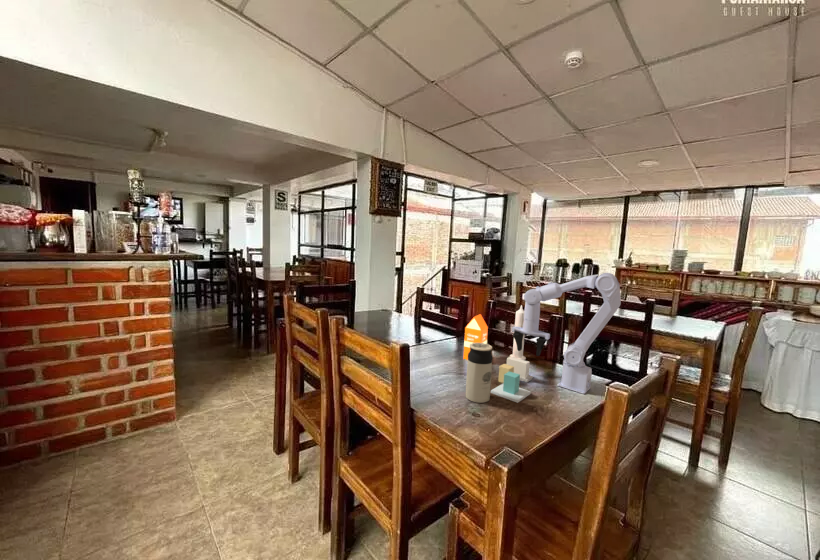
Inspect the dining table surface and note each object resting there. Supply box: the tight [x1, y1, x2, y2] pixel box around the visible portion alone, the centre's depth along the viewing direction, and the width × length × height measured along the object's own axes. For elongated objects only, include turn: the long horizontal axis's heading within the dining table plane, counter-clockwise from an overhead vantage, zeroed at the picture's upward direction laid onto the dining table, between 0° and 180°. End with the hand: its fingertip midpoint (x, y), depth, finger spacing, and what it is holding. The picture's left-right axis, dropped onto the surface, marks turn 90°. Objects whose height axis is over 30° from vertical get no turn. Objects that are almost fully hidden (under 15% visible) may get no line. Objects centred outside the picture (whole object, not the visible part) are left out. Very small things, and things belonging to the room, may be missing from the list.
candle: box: [509, 304, 527, 361], centre depth 150 cm, size 7×7×25 cm
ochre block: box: [497, 363, 514, 384], centre depth 124 cm, size 4×4×6 cm
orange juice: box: [462, 313, 489, 361], centre depth 147 cm, size 8×9×20 cm
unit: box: [506, 356, 534, 383], centre depth 129 cm, size 10×5×7 cm, turn 46°
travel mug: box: [465, 343, 493, 404], centre depth 108 cm, size 8×8×18 cm
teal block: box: [502, 371, 521, 395], centre depth 114 cm, size 4×4×6 cm
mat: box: [490, 383, 532, 404], centre depth 114 cm, size 10×10×1 cm
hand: (528, 352), depth 130 cm, fingers open, 7 cm apart
